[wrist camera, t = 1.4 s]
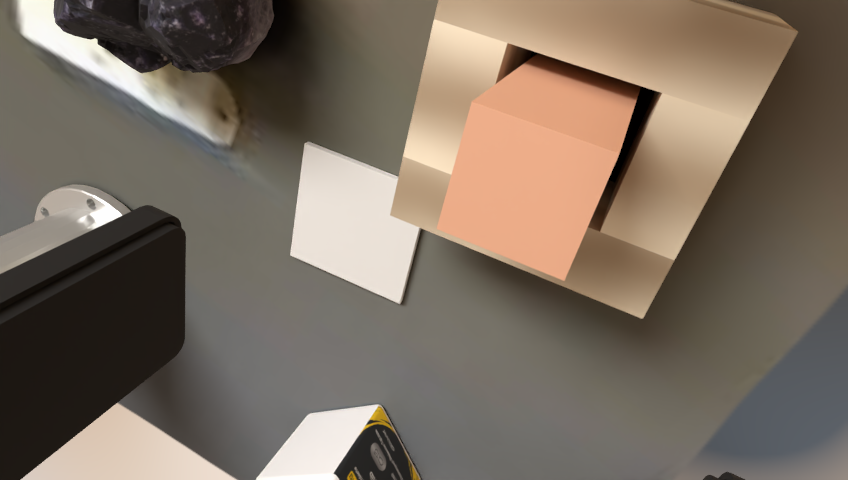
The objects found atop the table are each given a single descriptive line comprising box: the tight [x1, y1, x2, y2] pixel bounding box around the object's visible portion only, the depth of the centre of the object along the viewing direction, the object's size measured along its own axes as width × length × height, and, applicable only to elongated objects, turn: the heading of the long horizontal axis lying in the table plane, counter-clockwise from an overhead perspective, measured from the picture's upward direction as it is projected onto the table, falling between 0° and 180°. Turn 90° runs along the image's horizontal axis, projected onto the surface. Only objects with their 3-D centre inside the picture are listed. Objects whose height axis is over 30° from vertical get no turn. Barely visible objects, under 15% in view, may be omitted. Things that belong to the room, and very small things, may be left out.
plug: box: [437, 53, 641, 281], centre depth 23 cm, size 4×4×12 cm
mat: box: [290, 141, 421, 304], centre depth 36 cm, size 8×8×1 cm
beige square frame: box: [390, 0, 798, 319], centre depth 26 cm, size 12×12×6 cm
